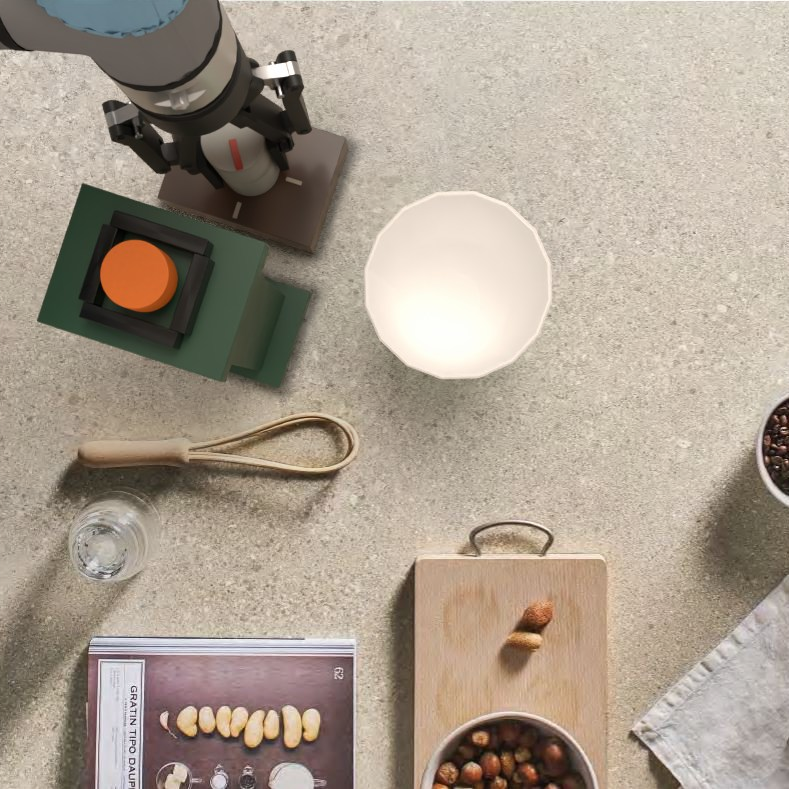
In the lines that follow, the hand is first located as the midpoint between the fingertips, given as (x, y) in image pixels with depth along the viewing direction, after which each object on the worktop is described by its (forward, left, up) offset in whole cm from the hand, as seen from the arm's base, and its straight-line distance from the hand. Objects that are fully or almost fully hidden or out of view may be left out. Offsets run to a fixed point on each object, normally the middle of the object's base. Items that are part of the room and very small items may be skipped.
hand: (248, 164), depth 75 cm
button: (+2, -13, +22) cm, 26 cm away
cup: (+20, -6, -4) cm, 21 cm away
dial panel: (0, 0, -4) cm, 4 cm away
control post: (+2, -13, -4) cm, 14 cm away
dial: (0, 0, -1) cm, 1 cm away
